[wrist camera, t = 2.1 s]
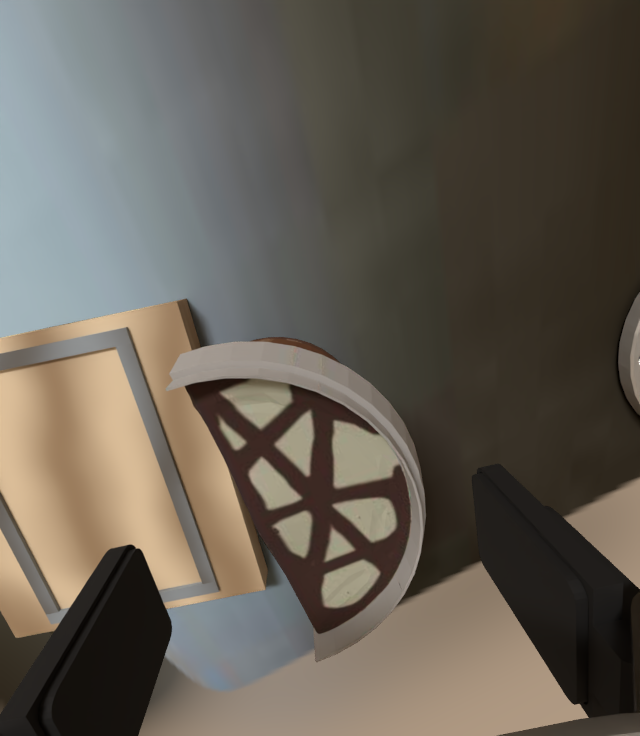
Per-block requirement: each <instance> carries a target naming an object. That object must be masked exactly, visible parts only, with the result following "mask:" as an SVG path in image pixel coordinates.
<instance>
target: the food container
mask: <svg viewBox="0 0 640 736" xmlns="http://www.w3.org/2000/svg"><path fill="white" fill-rule="evenodd" d="M169 375H170V376H171V378H172V380H173V381H172V382H171V383H170V384H169V385H168V386H167V388H166V391H169V390H173V389H176V388H179V387H182V386H185V389H186V391H187V392H188V394H189V396H190V398H191V401H192V404H193V406H194V407H195V409H196V410H197V411H198V413H199V414H200V415H201V417H202V419H203V421H204V422H205V424H206V426H207V427H208V429H209V431H210V433H211V435H212V437H213V439H214V441H215V443H216V445H217V447H218V449H219V450H220V452H221V454H222V456H223V458H224V460H225V462H226V465H227V467H228V469H229V471H230V473H231V475H232V477H233V479H234V481H235V483H236V485H237V488H238V490H239V492H240V494H241V497H242V499H243V501H244V503H245V506H246V508H247V510H248V512H249V514H250V516H251V518H252V521H253V523H254V525H255V527H256V529H257V531H258V533H259V534H260V536H261V537H262V539H263V541H264V542H265V544H266V545H267V547H268V549H269V550H270V552H271V553H272V555H273V556H274V558H275V559H276V560H277V562H278V564H279V565H280V567H281V569H282V570H283V572H284V573H285V575H286V577H287V578H288V580H289V582H290V584H291V586H292V588H293V590H294V591H295V593H296V595H297V597H298V599H299V601H300V603H301V604H302V606H303V608H304V610H305V612H306V614H307V616H308V617H309V619H310V621H311V623H312V625H313V628H314V645H315V661H316V662H318V661H321V660H323V659H326V658H328V657H331V656H333V655H336V654H338V653H340V652H341V651H343V650H345V649H346V648H348V647H350V646H352V645H354V644H355V643H357V642H358V641H360V640H361V639H362V638H364V637H365V636H366V635H368V634H369V633H370V632H371V631H373V630H374V629H375V628H376V627H377V626H378V625H379V624H380V623H381V622H382V621H383V620H384V619H385V618H386V617H387V616H388V615H389V614H390V613H391V612H392V611H393V610H394V608H395V607H396V605H397V604H398V603H399V601H400V600H401V598H402V597H403V596H404V594H405V592H406V590H407V588H408V586H409V584H410V582H411V580H412V578H413V576H414V574H415V571H416V568H417V564H418V561H419V557H420V554H421V547H422V542H423V538H424V529H425V520H426V509H425V496H424V487H423V481H422V475H421V468H420V464H419V460H418V457H417V453H416V449H415V445H414V443H413V441H412V439H411V437H410V434H409V432H408V430H407V428H406V426H405V424H404V422H403V421H402V419H401V418H400V416H399V415H398V414H397V412H396V411H395V409H394V408H393V407H392V405H391V404H390V402H389V401H388V400H387V399H386V398H385V397H384V396H383V395H382V394H381V393H380V392H379V391H378V390H377V389H376V388H375V387H374V386H373V385H372V384H371V383H369V382H368V381H366V380H365V379H364V378H362V377H361V376H359V375H358V374H357V373H355V372H354V371H352V370H351V369H350V368H348V367H346V366H344V365H342V364H340V363H339V362H338V361H337V360H336V359H335V358H334V357H333V356H332V355H330V354H329V353H327V352H326V351H325V350H323V349H321V348H319V347H317V346H315V345H313V344H311V343H308V342H305V341H301V340H298V339H292V338H285V337H268V338H262V339H256V340H253V341H250V342H230V343H223V344H217V345H211V346H205V347H202V348H199V349H195V350H192V351H189V352H186V353H183V354H180V356H179V357H178V359H177V361H176V363H175V364H174V366H173V368H172V370H171V371H170V373H169Z"/></svg>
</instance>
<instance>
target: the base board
mask: <svg viewBox="0 0 640 736" xmlns="http://www.w3.org/2000/svg"><path fill="white" fill-rule="evenodd" d="M199 348H201V346H200V343H199V339H198V336H197V333H196V329H195V326H194V323H193V319H192V316H191V313H190V309H189V306H188V303H187V299H183V300H178V301H173V302H168V303H164V304H159V305H154V306H149V307H145V308H140V309H135V310H130V311H126V312H121V313H116V314H111V315H107V316H102V317H97V318H92V319H88V320H83V321H78V322H73V323H68V324H64V325H59V326H54V327H49V328H45V329H40V330H35V331H30V332H26V333H21V334H16V335H11V336H7V337H2V338H0V611H1V612H2V614H3V616H4V617H5V619H6V621H7V623H8V625H9V626H10V628H11V630H12V632H13V633H14V635H15V637H16V638H18V637H24V636H29V635H34V634H39V633H44V632H50V631H55V630H56V628H57V627H58V625H59V624H60V622H61V620H62V619H63V617H64V616H65V614H66V613H67V611H68V610H69V608H70V607H71V605H72V604H73V602H74V601H75V599H76V597H77V596H78V594H79V593H80V591H81V590H82V588H83V587H84V585H85V584H86V582H87V581H88V579H89V578H90V576H91V575H92V573H93V571H94V570H95V568H96V567H97V565H98V564H99V562H100V561H101V559H102V558H103V556H104V555H105V553H106V552H107V551H108V550H109V549H111V548H116V547H120V546H125V545H129V544H131V545H134V546H135V547H136V549H137V548H139V549H141V550H142V552H143V554H144V557H145V559H146V561H147V564H148V566H149V569H150V571H151V574H152V576H153V578H154V581H155V583H156V586H157V588H158V591H159V593H160V595H161V598H162V600H163V603H164V605H165V608H166V609H168V608H173V607H178V606H183V605H189V604H194V603H199V602H204V601H209V600H214V599H219V598H225V597H230V596H235V595H240V594H245V593H250V592H256V591H261V590H265V589H266V580H267V572H268V569H267V566H266V563H265V559H264V556H263V553H262V549H261V546H260V543H259V539H258V536H257V533H256V529H255V526H254V523H253V521H252V518H251V516H250V514H249V512H248V510H247V508H246V506H245V503H244V501H243V499H242V497H241V494H240V492H239V490H238V488H237V485H236V483H235V481H234V479H233V477H232V475H231V473H230V471H229V469H228V467H227V465H226V462H225V460H224V458H223V456H222V454H221V452H220V450H219V449H218V447H217V445H216V443H215V441H214V439H213V437H212V435H211V433H210V431H209V429H208V427H207V426H206V424H205V422H204V421H203V419H202V417H201V415H200V414H199V413H198V411H197V410H196V409H195V407H194V406H193V404H192V401H191V398H190V396H189V394H188V392H187V391H186V389H185V386H182V387H179V388H176V389H173V390H169V391H166V388H167V386H168V385H169V384H170V383H171V382H172V381H173V380H172V378H171V376H170V375H169V373H170V371H171V370H172V368H173V366H174V364H175V363H176V361H177V359H178V357H179V356H180V354H183V353H186V352H189V351H192V350H195V349H199Z"/></svg>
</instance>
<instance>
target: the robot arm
mask: <svg viewBox="0 0 640 736" xmlns="http://www.w3.org/2000/svg"><path fill="white" fill-rule="evenodd" d="M618 366H619V374H620V382H621V384H622V387H623V390H624V392H625V395H626V398H627V400H628V401H629V402H630V404H631V405H632V407H633V408H634V410H635V411H636V413H637V414H639V415H640V292H639V294H638V295H637V297H636V299H635V300H634V303H633V305H632V307H631V309H630V311H629V314H628V316H627V318H626V320H625V324H624V327H623V331H622V335H621V339H620V343H619V357H618ZM472 486H473V496H474V506H475V516H476V526H477V537H478V547H479V554H480V558H481V561H482V563H483V565H484V567H485V569H486V570H487V572H488V573H489V575H490V576H491V578H492V580H493V581H494V583H495V584H496V586H497V587H498V589H499V591H500V592H501V594H502V595H503V597H504V598H505V600H506V602H507V603H508V605H509V606H510V608H511V610H512V611H513V613H514V614H515V616H516V618H517V619H518V621H519V622H520V624H521V625H522V627H523V629H524V630H525V632H526V633H527V635H528V636H529V638H530V640H531V641H532V643H533V644H534V646H535V647H536V649H537V651H538V652H539V654H540V655H541V657H542V659H543V660H544V662H545V663H546V665H547V666H548V668H549V670H550V671H551V673H552V674H553V676H554V677H555V679H556V681H557V682H558V684H559V685H560V687H561V688H562V690H563V692H564V693H565V695H566V696H567V698H568V699H569V700H570V701H571V702H572V703H573V704H574V705H575V704H580V705H581V706H582V708H583V709H584V711H585V712H586V714H587V715H588V717H589V718H585V719H579V720H573V721H568V722H564V723H559V724H553V725H548V726H544V727H538V728H533V729H529V730H523V731H518V732H513V733H508V734H503V735H499V736H640V589H639V588H638V587H636V586H635V585H634V584H633V583H632V582H631V581H630V580H629V579H628V578H627V577H626V576H625V575H624V574H623V573H622V572H621V571H619V570H618V569H617V568H616V567H615V566H614V565H613V564H612V563H611V562H610V561H609V560H608V559H607V558H606V557H604V556H603V555H602V554H601V553H600V552H599V551H598V550H597V549H596V548H595V547H594V546H593V545H592V544H591V543H590V542H588V541H587V540H586V539H585V538H584V537H583V536H582V535H581V534H580V533H579V532H578V531H577V530H576V529H575V528H573V527H572V526H571V525H570V524H569V523H568V522H567V521H566V520H565V519H564V518H563V517H562V516H561V515H560V514H559V513H557V512H556V511H555V510H554V509H552V508H551V507H548V506H543V505H542V504H541V503H540V502H539V501H538V500H537V499H536V498H535V497H534V496H533V495H532V494H531V493H530V492H529V491H528V490H527V489H526V488H525V487H523V486H522V485H521V484H520V483H519V482H518V481H517V480H516V479H515V478H514V477H513V476H512V475H511V474H510V473H509V472H508V471H507V470H506V469H505V468H504V467H503V466H501V465H500V464H495V465H490V466H486V467H481V468H478V469H477V474H475V475H473V476H472ZM171 632H172V624H171V620H170V617H169V615H168V612H167V610H166V608H165V605H164V603H163V600H162V598H161V595H160V593H159V591H158V588H157V586H156V583H155V581H154V578H153V576H152V574H151V571H150V569H149V566H148V564H147V561H146V559H145V557H144V554H143V552H142V550H141V549H139V548H137V549H136V547H135V546H134V545H131V544H129V545H125V546H120V547H116V548H111V549H109V550H108V551H107V552H106V553H105V555H104V556H103V558H102V559H101V561H100V562H99V564H98V565H97V567H96V568H95V570H94V571H93V573H92V575H91V576H90V578H89V579H88V581H87V582H86V584H85V585H84V587H83V588H82V590H81V591H80V593H79V594H78V596H77V597H76V599H75V601H74V602H73V604H72V605H71V607H70V608H69V610H68V611H67V613H66V614H65V616H64V617H63V619H62V620H61V622H60V624H59V625H58V627H57V628H56V630H55V631H54V633H53V634H52V636H51V637H50V639H49V640H48V642H47V644H46V645H45V646H44V649H43V650H42V651H41V653H40V655H39V656H38V657H37V659H36V660H35V662H34V663H33V665H32V666H31V668H30V669H29V671H28V673H27V674H26V676H25V677H24V679H23V680H22V682H21V683H20V685H19V686H18V688H17V689H16V691H15V693H14V694H13V696H12V697H11V699H10V700H9V702H8V703H7V705H6V706H5V708H4V709H3V711H2V712H1V714H0V736H138V734H139V731H140V728H141V725H142V722H143V719H144V716H145V713H146V710H147V707H148V704H149V701H150V698H151V695H152V692H153V689H154V686H155V683H156V680H157V677H158V674H159V671H160V668H161V665H162V662H163V659H164V656H165V653H166V650H167V647H168V644H169V641H170V637H171Z"/></svg>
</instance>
